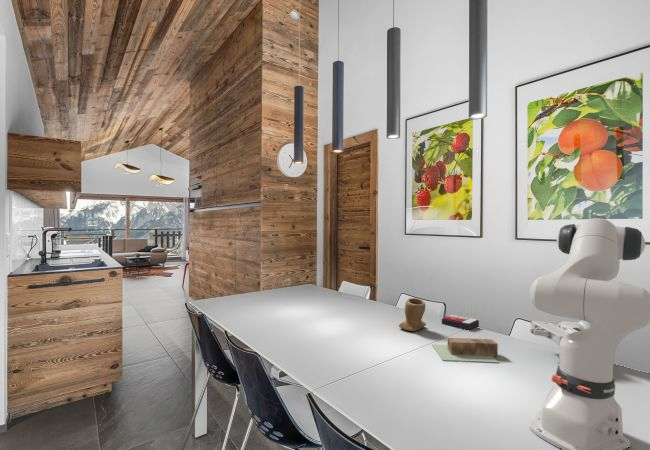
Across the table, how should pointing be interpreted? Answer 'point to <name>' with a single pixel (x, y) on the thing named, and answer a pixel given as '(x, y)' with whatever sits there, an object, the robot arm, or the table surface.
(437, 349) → the mat
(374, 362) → the table surface
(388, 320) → the table surface
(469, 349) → the walnut pillar
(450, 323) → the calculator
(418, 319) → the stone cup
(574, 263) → the robot arm
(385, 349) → the table surface
